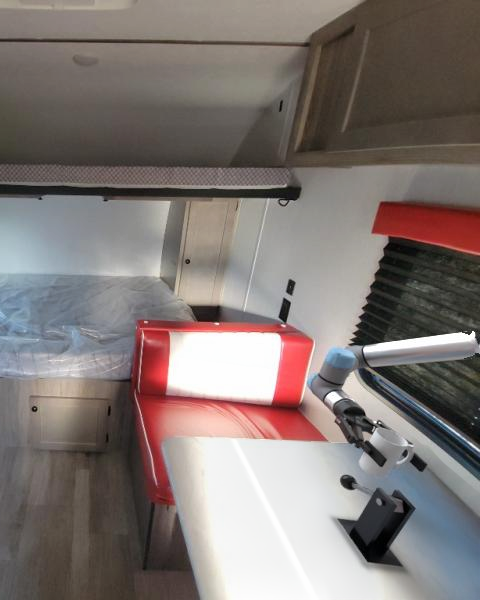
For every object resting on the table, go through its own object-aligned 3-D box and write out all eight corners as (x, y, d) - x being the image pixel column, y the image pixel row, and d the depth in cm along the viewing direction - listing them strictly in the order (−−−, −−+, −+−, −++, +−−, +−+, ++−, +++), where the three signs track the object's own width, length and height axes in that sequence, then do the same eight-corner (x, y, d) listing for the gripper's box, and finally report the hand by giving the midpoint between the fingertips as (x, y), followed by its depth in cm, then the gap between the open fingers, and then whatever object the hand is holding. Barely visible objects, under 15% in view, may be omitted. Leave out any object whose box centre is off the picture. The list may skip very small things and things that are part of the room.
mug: (364, 474, 92) (383, 441, 87) (353, 456, 98) (370, 424, 93) (407, 487, 89) (429, 453, 85) (393, 467, 95) (412, 435, 91)
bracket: (335, 521, 84) (361, 476, 78) (367, 525, 83) (395, 480, 78) (364, 565, 74) (396, 517, 68) (400, 570, 74) (435, 522, 68)
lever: (336, 486, 87) (336, 471, 88) (350, 487, 87) (349, 473, 88) (390, 514, 72) (389, 496, 73) (406, 516, 72) (406, 498, 73)
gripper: (374, 421, 109) (439, 481, 88) (306, 413, 109) (354, 471, 88) (384, 403, 106) (454, 460, 85) (314, 395, 106) (366, 449, 86)
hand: (403, 465), depth 87 cm, fingers closed on mug, 10 cm apart
